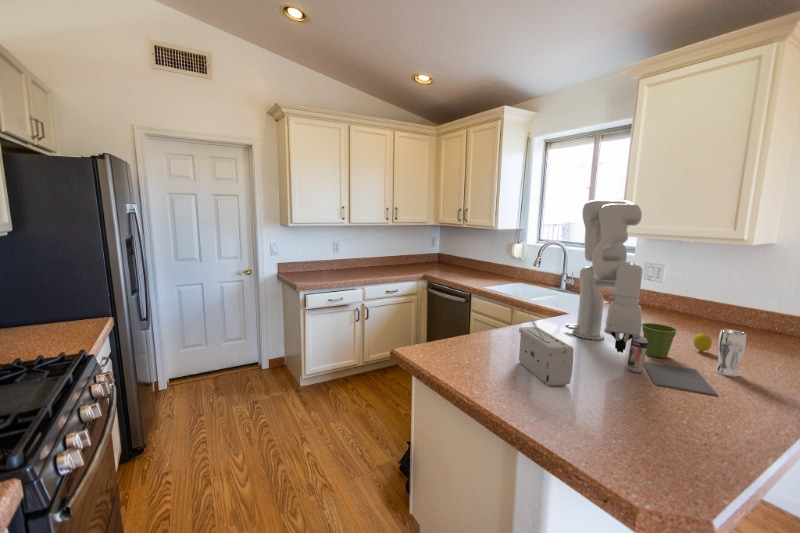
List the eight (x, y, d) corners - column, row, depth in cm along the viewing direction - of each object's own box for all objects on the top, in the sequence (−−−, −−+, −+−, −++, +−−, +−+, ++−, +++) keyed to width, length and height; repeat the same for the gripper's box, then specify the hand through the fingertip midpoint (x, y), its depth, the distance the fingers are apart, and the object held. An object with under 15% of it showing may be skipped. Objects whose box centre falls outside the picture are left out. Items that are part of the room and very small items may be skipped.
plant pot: (676, 355, 142) (680, 327, 141) (672, 363, 134) (676, 334, 132) (640, 346, 150) (644, 320, 149) (634, 354, 142) (638, 326, 140)
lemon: (713, 355, 143) (716, 335, 142) (697, 353, 144) (700, 334, 143) (704, 350, 149) (707, 331, 148) (689, 348, 150) (692, 330, 149)
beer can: (623, 367, 128) (628, 334, 126) (635, 367, 129) (641, 335, 127) (632, 373, 124) (638, 339, 122) (645, 373, 124) (651, 340, 122)
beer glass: (733, 370, 128) (740, 330, 126) (744, 379, 122) (752, 336, 120) (709, 367, 131) (715, 327, 128) (719, 375, 124) (726, 333, 122)
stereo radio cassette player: (571, 387, 112) (578, 325, 109) (547, 389, 111) (553, 326, 108) (535, 360, 133) (540, 307, 130) (515, 361, 131) (519, 308, 128)
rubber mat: (654, 384, 116) (654, 383, 116) (642, 362, 134) (642, 361, 134) (717, 396, 109) (718, 394, 109) (695, 371, 127) (695, 369, 127)
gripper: (602, 299, 124) (596, 350, 127) (654, 305, 118) (647, 358, 121) (600, 295, 131) (594, 344, 134) (649, 300, 125) (642, 351, 128)
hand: (619, 351), depth 127 cm, fingers closed
